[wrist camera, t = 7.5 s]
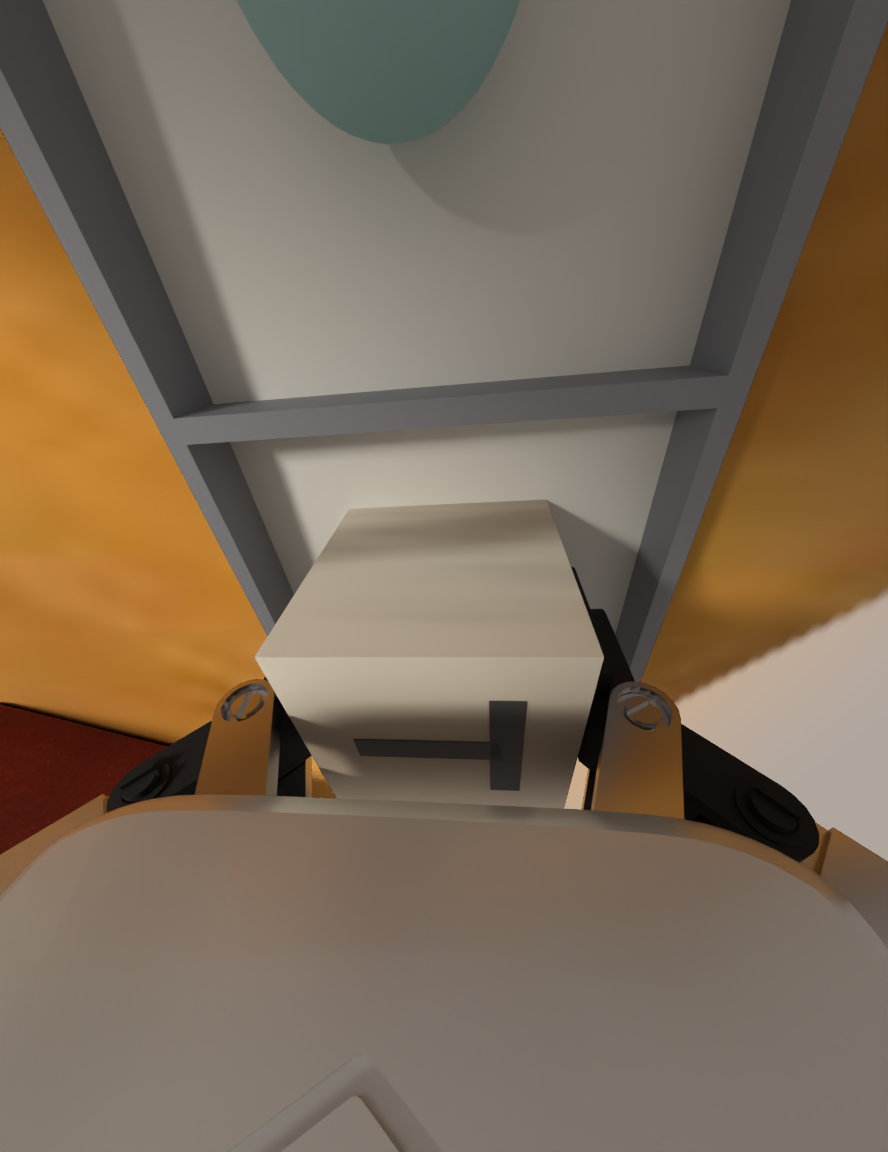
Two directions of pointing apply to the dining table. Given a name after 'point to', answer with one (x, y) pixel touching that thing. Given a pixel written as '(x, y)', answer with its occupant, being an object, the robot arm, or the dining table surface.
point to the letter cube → (440, 656)
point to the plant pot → (56, 769)
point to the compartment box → (444, 264)
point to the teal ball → (383, 58)
